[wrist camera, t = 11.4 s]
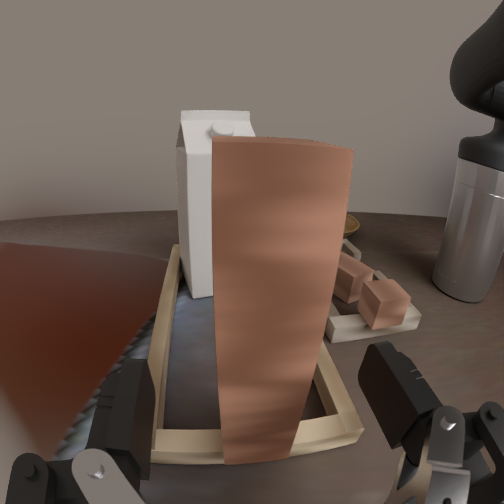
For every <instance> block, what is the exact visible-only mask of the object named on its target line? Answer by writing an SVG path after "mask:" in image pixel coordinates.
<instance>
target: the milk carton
mask: <svg viewBox="0 0 504 504" xmlns="http://www.w3.org/2000/svg"><path fill="white" fill-rule="evenodd" d="M212 136H253V137H256V136H255V133H254V131H253V129H252V127H251V124H250V112H249V111H219V110H213V111H212V110H198V111H197V110H195V111H193V110H192V111H181V123H180V129H179V134H178V140H177V145H176V171H177V173H176V174H177V206H178V227H179V244H180V259H181V269H182V272H183V274H184V277H185V280H186V282H187V285H188V287H189V290H190V293H191V295H192V298H194V299H195V298H202V297H208V296H213V272H212V206H211V183H212Z"/></svg>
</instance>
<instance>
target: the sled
mask: <svg viewBox="0 0 504 504" xmlns="http://www.w3.org/2000/svg"><path fill="white" fill-rule="evenodd" d="M353 154H354V150H352V149H348V148H344V147H340V146H336V145H331V144H327V143H322V142H318V141H313V140H305V139H292V138H276V137H253V136H212V183H211V206H212V272H213V303H214V327H215V348H216V366H217V382H218V396H219V410H220V422H221V429H207V430H172V429H163V419H164V405H165V393H166V382H167V372H168V362H169V353H170V344H171V336H172V328H173V320H174V313H175V305H176V298H177V291H178V285H179V278H180V272H181V259H180V244H173V248H172V252H171V255H170V259H169V263H168V267H167V271H166V275H165V280H164V284H163V288H162V292H161V296H160V301H159V305H158V310H157V314H156V319H155V324H154V329H153V334H152V339H151V344H150V349H149V354H148V360H147V362H148V365H149V369H150V373H151V376H152V380H153V383H154V387H155V394H156V404H155V413H154V423H153V434H152V447H151V461H150V463H164V464H224V463H225V465H235V464H248V463H258V462H267V461H275V460H282V459H288V457H291V456H297V455H303V454H308V453H313V452H318V451H323V450H328V449H332V448H336V447H340V446H344V445H348V444H352V443H356V442H357V440H358V438H359V437H360V435H361V434H362V432H363V430H364V427H363V425H362V423H361V420H360V418H359V416H358V414H357V412H356V410H355V407H354V405H353V403H352V401H351V399H350V397H349V395H348V393H347V390H346V388H345V386H344V384H343V382H342V380H341V378H340V376H339V374H338V371H337V369H336V367H335V365H334V363H333V361H332V359H331V357H330V355H329V353H328V351H327V349H326V347H325V344H324V342H323V336H324V331H325V327H326V323H327V318H328V314H329V309H330V304H331V299H332V295H333V290H334V284H335V279H336V274H337V269H338V263H339V257H340V252H341V246H342V240H343V233H344V227H345V220H346V213H347V206H348V198H349V190H350V182H351V173H352V163H353ZM312 379H313V380H314V383H315V385H316V388H317V390H318V393H319V395H320V398H321V401H322V403H323V406H324V408H325V411H326V414H327V416H326V417H321V418H315V419H309V420H303V421H300V420H301V417H302V414H303V410H304V407H305V404H306V400H307V397H308V393H309V390H310V386H311V383H312Z"/></svg>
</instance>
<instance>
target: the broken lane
mask: <svg viewBox="0 0 504 504" xmlns="http://www.w3.org/2000/svg"><path fill="white" fill-rule="evenodd" d="M361 254H362V253H361V252H360V251H359V250H358V249H357V248H356V247H355V246H354V245H352V244H351V243H350V242H349V241H348V240H347V239H343V240H342V246H341V252H340V257H339V263H338V269H337V274H336V279H335V284H334V290H333V294H335V295H336V296H337V297H339V298H340V299H341V300H343V301H344V302H345V303H347V304H349V303H352V302H354V301H357V300H359V301H358V305H357V309H358V311H359V312H360V314H353V315H344V316H341V315H340V314H339V312H338V311H337V309H336V307H335V306H334V304H333V303H332V301H331V304H330V309H329V314H328V318H327V323H326V327H325V333H326V335H327V337H328V338H329V340H330V342H331V343H338V342H345V341H352V340H358V339H365V338H371V337H377V336H382V335H388V334H393V333H398V332H404V331H408V330H413V329H416V328H417V326H418V323H419V321H420V318H421V316H422V314H421V313H420V312H419V311H418V310H417V309H416V308H415V307H414V306H413V305H412V304H411V303H410V300H411V297H410V296H409V295H408V294H407V293H406V292H405V291H404V290H403V289H402V288H401V287H400V286H399V285H398V284H397V283H396V282H395V281H394V280H393V279H387V278H386V277H385V276H384V275H383V274H382V273H381V272H380V271H374V270H373V269H371V268H370V267H368V266H366V265H365V264H363V263H361V262H360V259H361Z"/></svg>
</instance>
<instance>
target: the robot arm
mask: <svg viewBox="0 0 504 504" xmlns="http://www.w3.org/2000/svg"><path fill="white" fill-rule="evenodd" d="M450 84H451V88H452V91H453V93H454V96H455V97H456V99H457V100H458V101H459V102H460V103H461V104H463V105H464V106H466V107H467V108H469V109H471V110H474V111H477V112H479V113H483V114H485V115H488V116H491V117H493V118H495V123H494V128H493V130H492V132H490V133H488V134H486V135H483V136H475V137H466V138H463V139H462V140H461V142H460V145H459V152H458V157H459V158H458V162H457V169H456V176H455V182H454V188H453V194H452V199H451V204H450V209H449V214H448V218H447V223H446V227H445V231H444V235H443V239H442V243H441V246H440V250H439V254H438V257H437V261H436V264H435V267H434V271H433V274H432V280H433V282H434V283H435V285H436V286H437V287H438V288H439V289H440V290H442V291H443V292H445V293H446V294H448V295H450V296H452V297H454V298H456V299H459V300H462V301H466V302H480V301H482V300H483V299H484V298H485V295H486V293H488V292H489V290H490V287H491V284H492V282H493V279H494V276H495V274H496V271H497V268H498V265H499V262H500V259H501V256H502V253H503V249H504V0H503V1H502V2H501V4H500V5H499V6H498V8H497V9H496V10H495V12H494V13H493V14H492V15H491V17H490V18H489V19H488V20H487V21H486V22H485V23H484V24H483V25H482V26H481V27H480V28H479V29H478V30H477V31H475V32H474V33H473V34H472V35H471V36H470V37H469V38H468V39H467V40H466V41H465V42H464V43H463V44H462V45H461V46H460V48H459V49H458V50H457V52H456V54H455V56H454V58H453V61H452V65H451V69H450ZM358 382H359V385H360V387H361V389H362V391H363V393H364V395H365V397H366V399H367V401H368V403H369V405H370V407H371V409H372V411H373V413H374V415H375V417H376V419H377V421H378V423H379V425H380V427H381V429H382V431H383V433H384V435H385V437H386V439H387V441H388V443H389V445H390V447H391V449H395V448H398V447H400V446H403V448H404V451H403V452H402V455H401V458H400V462H399V466H398V470H397V473H396V477H395V480H394V483H393V487H392V490H391V492H390V495H389V496H388V498H387V499H386V501H385V502H384V504H504V409H503V408H502V407H501V406H500V405H499V404H497V403H495V402H486V403H484V404H483V405H482V406H481V407H480V409H479V410H478V411H477V412H470V413H461V412H460V411H459V410H458V409H456V408H454V407H452V406H443V405H442V404H441V402H440V401H439V399H438V398H437V396H436V395H435V393H434V392H433V391H432V389H431V388H430V386H429V385H428V383H427V382H426V380H425V379H424V378H422V375H421V373H420V372H419V371H417V368H416V366H415V365H414V364H413V362H412V361H411V360H410V359H409V358H408V357H407V356H405V355H404V354H402V353H401V352H397V351H396V350H395V348H394V347H393V345H392V344H391V343H390V342H388V341H386V342H381V343H375V344H370V345H369V346H368V348H367V351H366V353H365V356H364V359H363V362H362V364H361V367H360V369H359V372H358ZM99 396H100V397H99V398H98V402H97V408H96V409H95V413H94V417H93V421H92V425H91V429H90V434H89V438H88V442H87V446H86V448H85V449H84V450H83V451H81V452H80V453H78V454H77V455H76V456H75V458H73V459H70V460H63V461H49V462H45V461H44V460H43V459H42V458H41V457H40V456H38V455H36V454H33V453H25V454H22V455H20V456H19V457H17V459H16V460H15V461H14V463H13V466H12V471H11V475H10V480H9V485H8V491H7V497H6V503H5V504H149V503H148V502H147V500H146V499H145V498H144V496H143V495H142V494H141V493H140V491H139V489H140V480H149V478H150V461H151V447H152V434H153V423H154V413H155V404H156V394H155V387H154V383H153V380H152V376H151V373H150V369H149V365H148V362H147V360H146V359H127V358H126V359H125V360H124V362H123V365H122V369H121V373H114V372H111V374H110V375H109V376H108V377H107V378H106V380H105V381H104V382H103V384H102V388H101V391H100V395H99ZM484 446H485V447H486V449H487V450H488V452H489V454H490V456H491V458H492V460H493V461H494V463H495V466H496V471H495V473H494V474H492V473H491V471H490V469H489V467H488V466H487V464H486V462H485V460H484V458H483V456H482V454H481V452H480V450H481V449H482V448H483V447H484Z"/></svg>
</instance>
